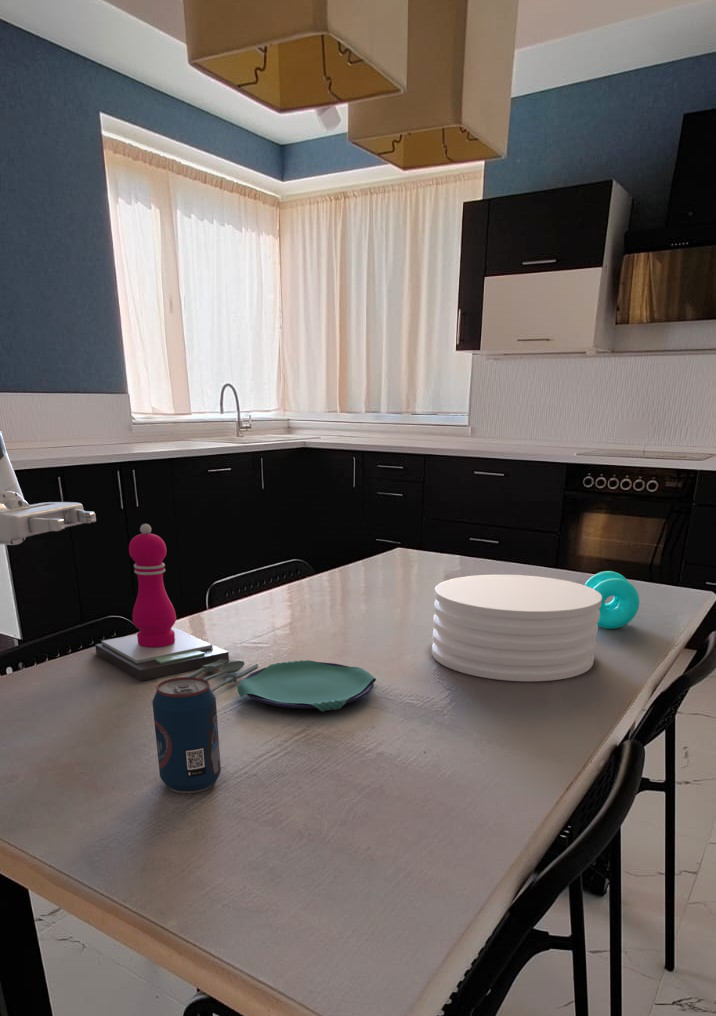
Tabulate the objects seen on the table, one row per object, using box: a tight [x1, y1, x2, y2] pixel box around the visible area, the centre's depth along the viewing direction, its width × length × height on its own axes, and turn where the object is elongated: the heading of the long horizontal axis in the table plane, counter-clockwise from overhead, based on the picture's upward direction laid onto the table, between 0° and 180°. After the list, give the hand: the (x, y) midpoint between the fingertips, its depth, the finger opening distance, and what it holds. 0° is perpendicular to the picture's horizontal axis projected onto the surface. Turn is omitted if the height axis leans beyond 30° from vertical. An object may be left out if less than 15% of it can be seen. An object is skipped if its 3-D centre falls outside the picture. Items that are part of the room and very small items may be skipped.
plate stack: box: [431, 574, 602, 682], centre depth 134 cm, size 28×28×12 cm
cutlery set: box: [184, 659, 377, 712], centre depth 119 cm, size 20×30×2 cm, turn 66°
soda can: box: [152, 676, 222, 794], centre depth 87 cm, size 7×7×12 cm
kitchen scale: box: [94, 627, 230, 682], centre depth 132 cm, size 18×16×2 cm
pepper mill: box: [128, 523, 177, 647], centre depth 129 cm, size 7×7×20 cm
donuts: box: [584, 570, 640, 630], centre depth 154 cm, size 10×10×10 cm
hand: (78, 521), depth 127 cm, fingers open, 8 cm apart
